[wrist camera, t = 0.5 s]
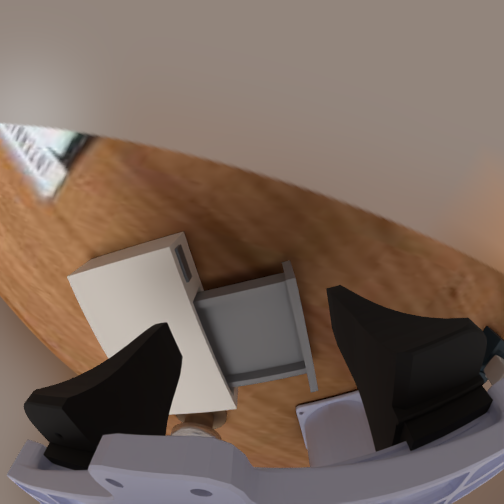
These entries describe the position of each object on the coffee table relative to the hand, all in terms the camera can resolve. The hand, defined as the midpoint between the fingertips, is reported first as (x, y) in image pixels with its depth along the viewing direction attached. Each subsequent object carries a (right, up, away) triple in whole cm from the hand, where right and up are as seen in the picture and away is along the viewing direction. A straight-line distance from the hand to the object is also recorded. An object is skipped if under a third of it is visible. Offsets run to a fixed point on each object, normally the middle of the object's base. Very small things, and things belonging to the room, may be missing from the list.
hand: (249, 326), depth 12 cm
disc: (-5, -15, +12) cm, 20 cm away
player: (-7, -3, +11) cm, 14 cm away
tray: (0, -3, +10) cm, 11 cm away
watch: (+28, -9, +13) cm, 32 cm away
